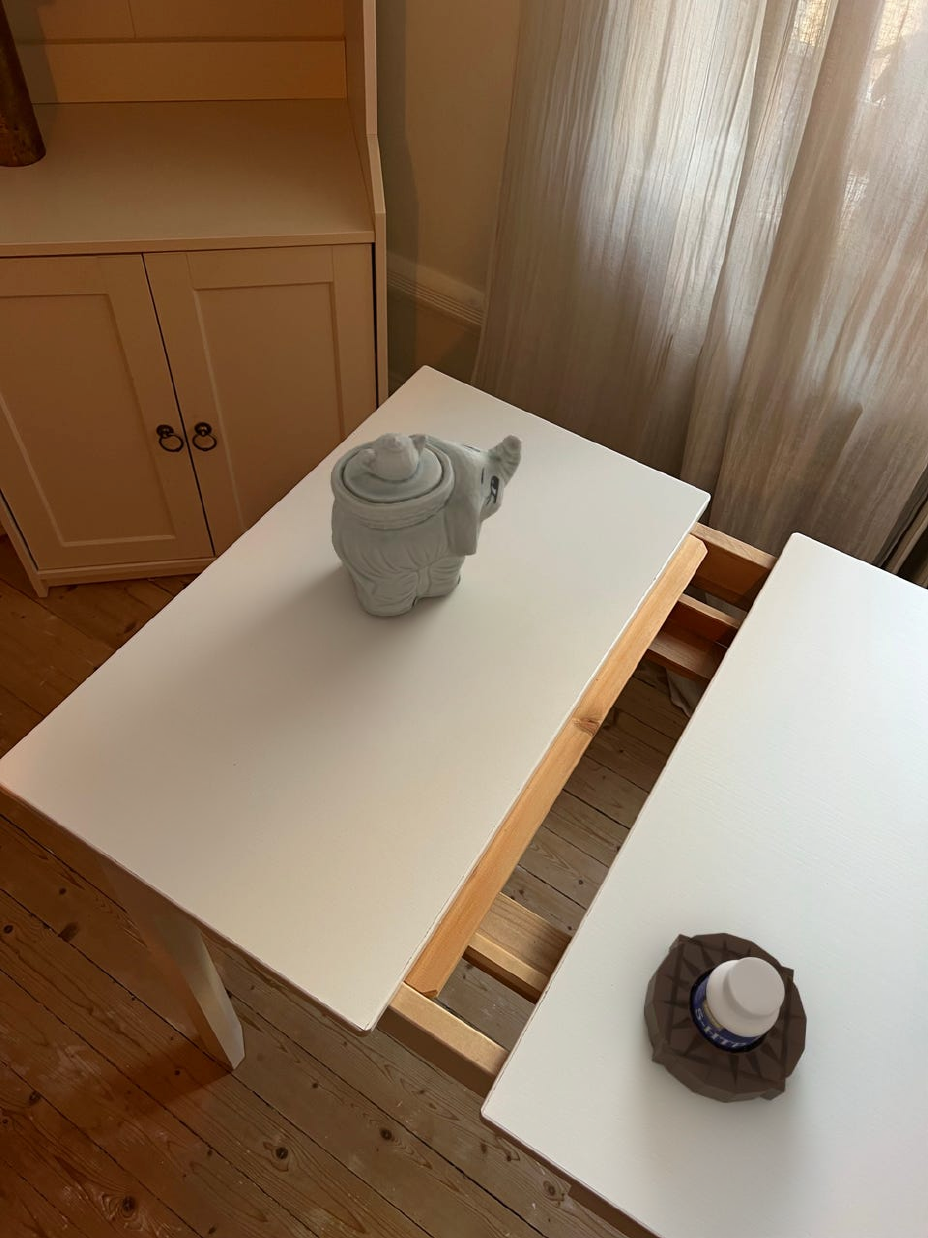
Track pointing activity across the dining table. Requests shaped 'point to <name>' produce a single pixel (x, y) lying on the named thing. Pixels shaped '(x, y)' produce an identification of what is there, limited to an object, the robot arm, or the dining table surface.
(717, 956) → the socket plate
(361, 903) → the dining table surface
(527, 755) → the dining table surface
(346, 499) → the teapot
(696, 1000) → the pill bottle
